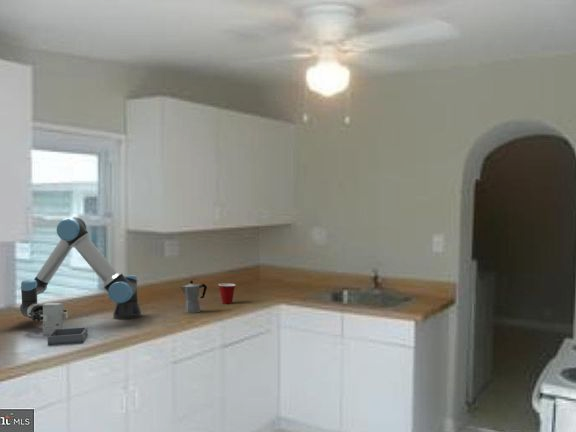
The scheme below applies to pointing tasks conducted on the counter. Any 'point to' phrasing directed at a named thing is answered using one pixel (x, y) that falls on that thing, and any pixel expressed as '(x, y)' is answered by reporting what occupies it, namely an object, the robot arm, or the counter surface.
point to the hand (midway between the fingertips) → (57, 317)
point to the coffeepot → (193, 297)
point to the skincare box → (52, 317)
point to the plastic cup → (227, 292)
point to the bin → (68, 336)
